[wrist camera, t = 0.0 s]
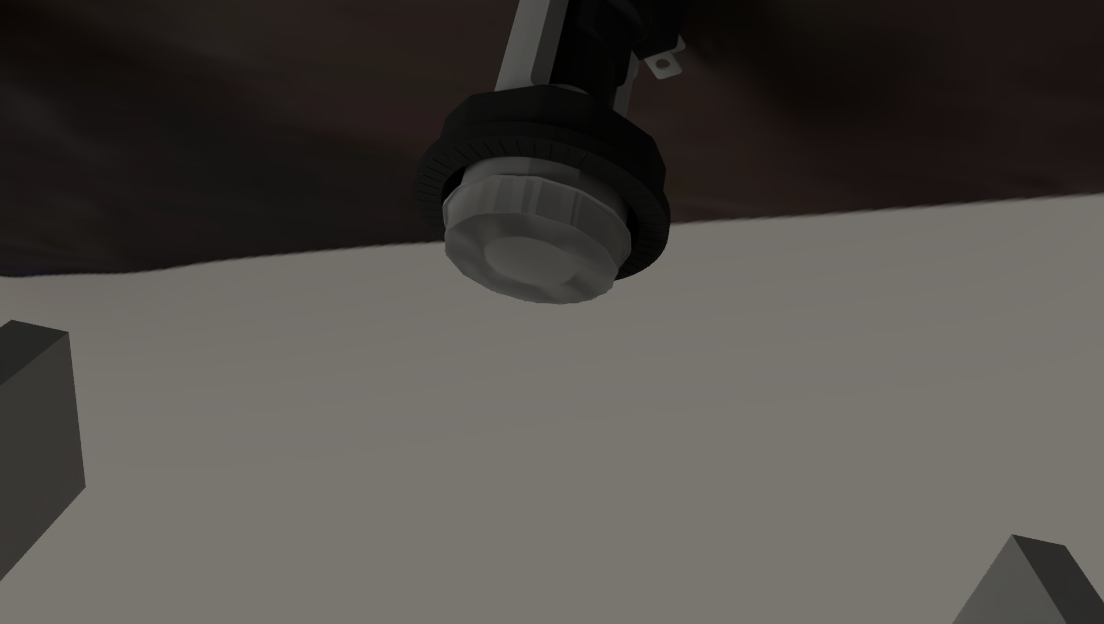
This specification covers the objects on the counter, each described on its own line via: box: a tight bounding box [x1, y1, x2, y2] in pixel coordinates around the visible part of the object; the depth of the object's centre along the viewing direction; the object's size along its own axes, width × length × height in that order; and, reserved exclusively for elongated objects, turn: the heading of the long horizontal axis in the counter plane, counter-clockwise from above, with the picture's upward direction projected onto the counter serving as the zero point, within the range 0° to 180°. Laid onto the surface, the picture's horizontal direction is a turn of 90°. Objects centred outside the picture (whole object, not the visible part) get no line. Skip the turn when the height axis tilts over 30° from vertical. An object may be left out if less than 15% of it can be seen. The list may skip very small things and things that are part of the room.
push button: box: [413, 0, 686, 304], centre depth 18 cm, size 7×5×10 cm
